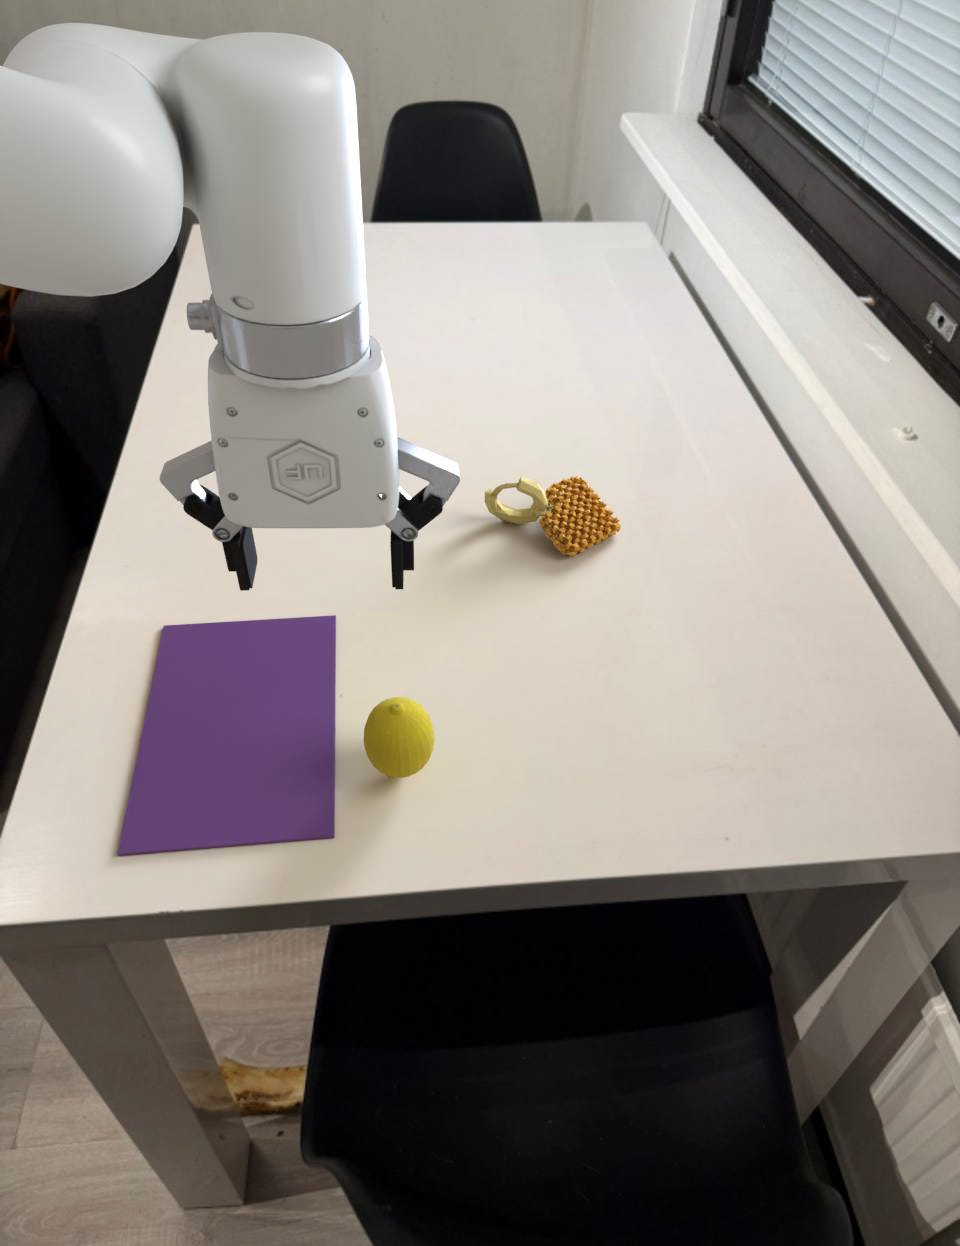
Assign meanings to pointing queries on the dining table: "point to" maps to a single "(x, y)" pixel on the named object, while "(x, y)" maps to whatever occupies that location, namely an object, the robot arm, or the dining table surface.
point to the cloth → (236, 738)
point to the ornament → (560, 512)
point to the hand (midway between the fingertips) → (324, 575)
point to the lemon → (398, 737)
